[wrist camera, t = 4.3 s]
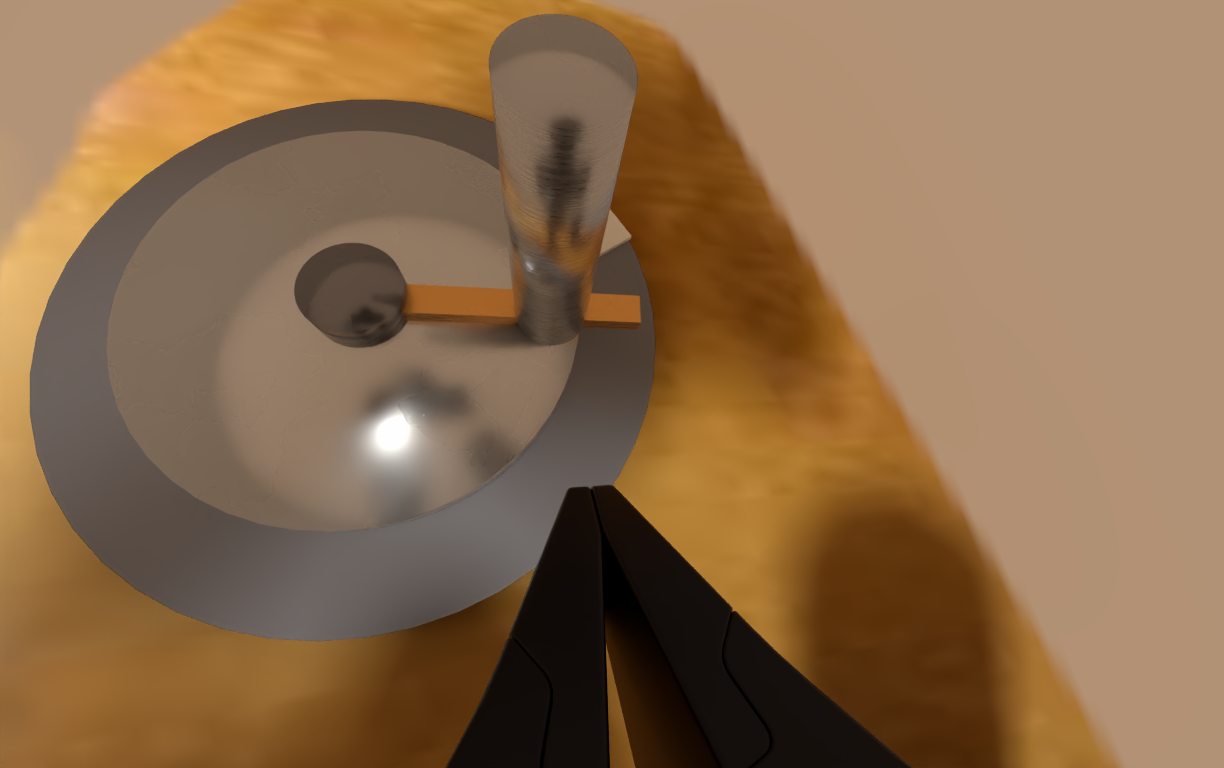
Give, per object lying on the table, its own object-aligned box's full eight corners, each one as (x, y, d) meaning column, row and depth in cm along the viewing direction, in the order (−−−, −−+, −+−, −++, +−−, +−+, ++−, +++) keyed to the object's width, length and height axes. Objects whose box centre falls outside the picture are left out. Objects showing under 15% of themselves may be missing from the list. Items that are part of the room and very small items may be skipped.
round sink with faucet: (79, 537, 13) (-1145, 552, 4) (197, 138, 17) (-224, -349, 8) (637, 524, 16) (798, 512, 6) (624, 176, 20) (707, -161, 10)
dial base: (606, 669, 16) (615, 685, 14) (-61, 580, 14) (-141, 587, 12) (671, 187, 22) (682, 160, 20) (221, 81, 20) (193, 41, 19)
